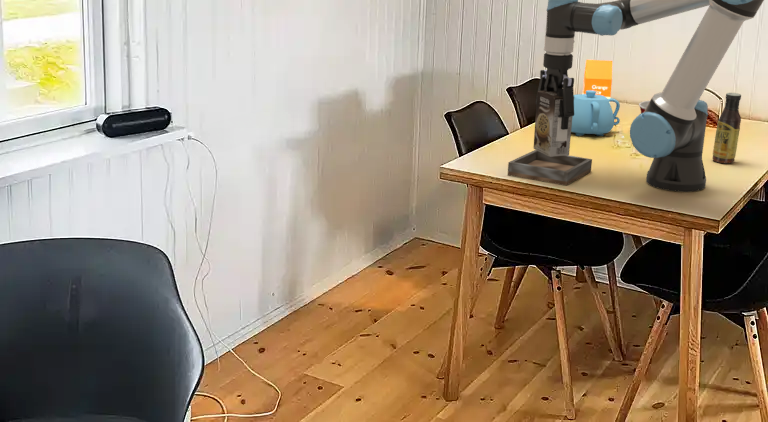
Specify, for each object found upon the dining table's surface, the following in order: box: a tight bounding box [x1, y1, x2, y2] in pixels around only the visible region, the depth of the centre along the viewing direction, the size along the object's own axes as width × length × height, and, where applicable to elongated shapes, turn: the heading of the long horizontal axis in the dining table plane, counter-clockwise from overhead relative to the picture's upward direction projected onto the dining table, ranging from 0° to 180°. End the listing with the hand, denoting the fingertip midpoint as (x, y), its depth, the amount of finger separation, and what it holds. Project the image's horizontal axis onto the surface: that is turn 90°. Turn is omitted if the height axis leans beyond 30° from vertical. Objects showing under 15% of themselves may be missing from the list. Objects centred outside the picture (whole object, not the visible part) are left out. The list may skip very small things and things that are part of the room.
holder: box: [507, 149, 593, 186], centre depth 271 cm, size 17×17×4 cm
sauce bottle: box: [712, 92, 742, 164], centre depth 284 cm, size 6×6×20 cm
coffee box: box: [533, 90, 573, 157], centre depth 267 cm, size 9×6×16 cm
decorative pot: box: [571, 90, 621, 137], centre depth 317 cm, size 16×16×14 cm
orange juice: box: [582, 59, 613, 104], centre depth 336 cm, size 8×9×20 cm
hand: (552, 136), depth 269 cm, fingers closed on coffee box, 9 cm apart
